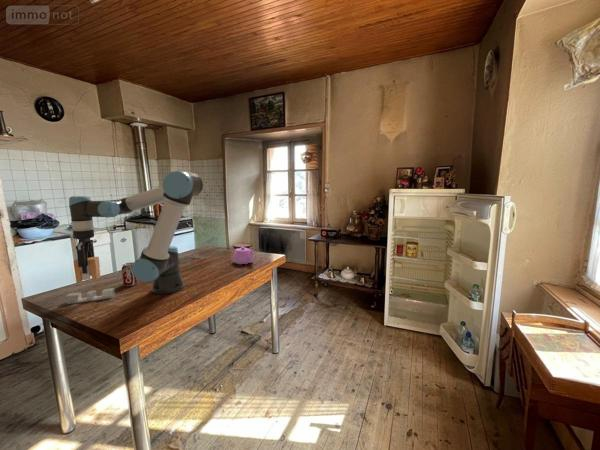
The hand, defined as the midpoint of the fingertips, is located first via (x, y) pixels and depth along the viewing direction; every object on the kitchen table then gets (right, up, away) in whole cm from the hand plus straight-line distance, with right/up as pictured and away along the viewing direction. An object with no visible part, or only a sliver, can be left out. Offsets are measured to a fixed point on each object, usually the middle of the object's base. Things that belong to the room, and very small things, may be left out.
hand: (88, 277), depth 122 cm
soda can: (+7, -8, +20) cm, 23 cm away
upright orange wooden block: (0, -1, 0) cm, 1 cm away
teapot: (+61, -2, +61) cm, 86 cm away
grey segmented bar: (0, -11, +2) cm, 11 cm away
